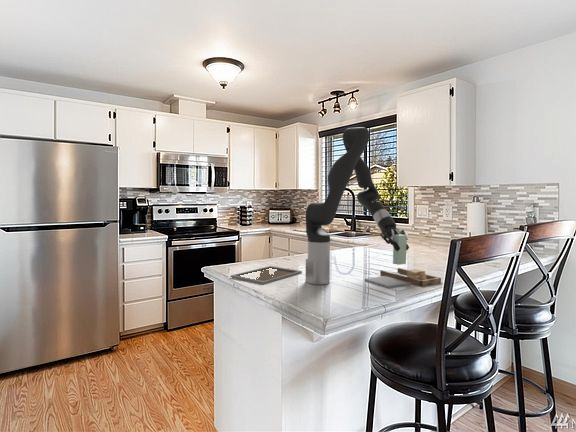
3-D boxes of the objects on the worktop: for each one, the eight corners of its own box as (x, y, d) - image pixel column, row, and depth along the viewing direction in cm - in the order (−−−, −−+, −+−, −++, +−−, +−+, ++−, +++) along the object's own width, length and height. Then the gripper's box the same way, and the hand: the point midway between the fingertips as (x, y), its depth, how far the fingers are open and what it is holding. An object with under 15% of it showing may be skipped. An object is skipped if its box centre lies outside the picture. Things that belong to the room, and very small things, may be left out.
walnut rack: (421, 286, 143) (421, 281, 143) (380, 274, 163) (380, 270, 163) (440, 282, 149) (441, 278, 149) (398, 272, 169) (399, 268, 169)
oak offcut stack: (415, 283, 148) (415, 272, 148) (405, 280, 153) (406, 270, 153) (426, 281, 152) (427, 270, 152) (417, 278, 156) (417, 268, 156)
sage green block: (397, 264, 158) (399, 235, 157) (392, 263, 160) (393, 234, 160) (405, 263, 160) (406, 235, 160) (400, 262, 163) (401, 234, 162)
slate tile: (388, 288, 140) (388, 286, 140) (364, 280, 152) (364, 278, 152) (410, 284, 145) (410, 282, 145) (385, 277, 158) (385, 275, 158)
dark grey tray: (230, 275, 155) (273, 264, 179) (230, 279, 155) (273, 268, 179) (263, 282, 144) (305, 270, 167) (263, 286, 144) (305, 273, 168)
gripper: (377, 215, 162) (396, 245, 152) (399, 215, 169) (419, 243, 159) (368, 226, 167) (386, 255, 157) (390, 225, 174) (409, 253, 164)
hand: (403, 249), depth 158 cm, fingers closed on sage green block, 5 cm apart
